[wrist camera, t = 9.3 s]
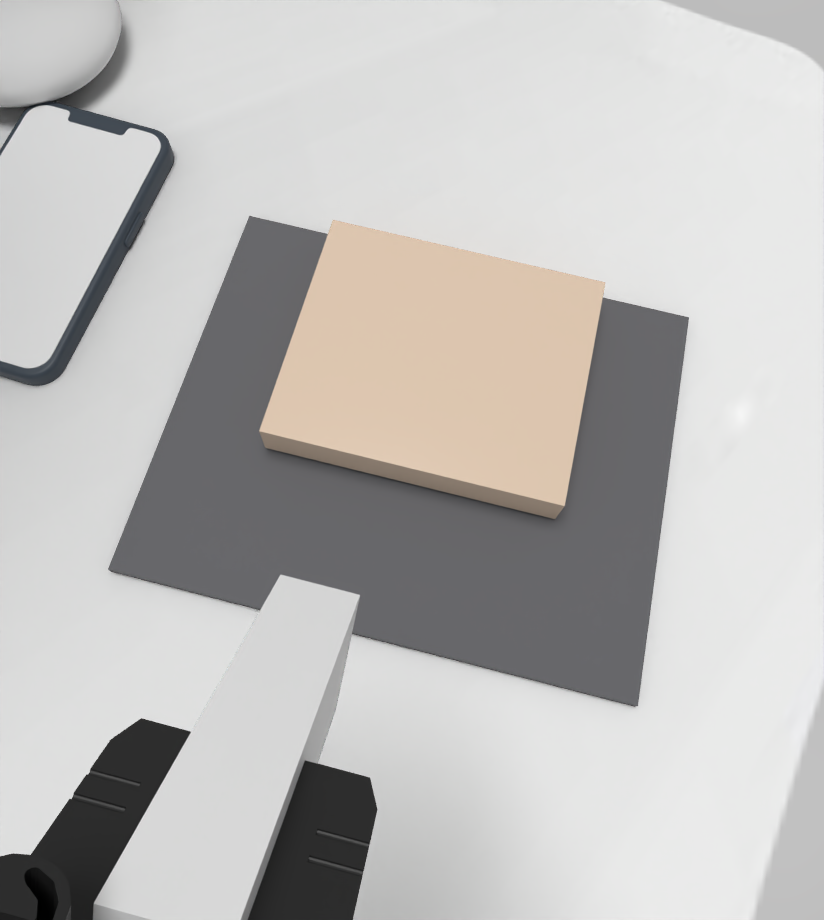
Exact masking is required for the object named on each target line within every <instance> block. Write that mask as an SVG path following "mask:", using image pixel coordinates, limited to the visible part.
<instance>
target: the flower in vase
mask: <svg viewBox="0 0 824 920" xmlns="http://www.w3.org/2000/svg"><path fill="white" fill-rule="evenodd" d="M121 27H122V17H121V10H120V7H119V3H118V1H117V0H0V107H26V106H31V105H35V104H40V103H44V102H49V101H54V100H57V99H60V98H62V97H64V96H67V95H69V94H71V93H73V92H75V91H76V90H78V89H80V88H82V87H83V86H85V85H86V84H87V83H89V82H90V81H91V80H93V79H94V78H95V77H96V76H97V75H98V74H99V73H100V72H101V71H102V70H103V69H104V67H105V66H106V65H107V63H108V62H109V60H110V59H111V57H112V55H113V53H114V51H115V49H116V46H117V43H118V41H119V37H120V33H121Z"/></svg>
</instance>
